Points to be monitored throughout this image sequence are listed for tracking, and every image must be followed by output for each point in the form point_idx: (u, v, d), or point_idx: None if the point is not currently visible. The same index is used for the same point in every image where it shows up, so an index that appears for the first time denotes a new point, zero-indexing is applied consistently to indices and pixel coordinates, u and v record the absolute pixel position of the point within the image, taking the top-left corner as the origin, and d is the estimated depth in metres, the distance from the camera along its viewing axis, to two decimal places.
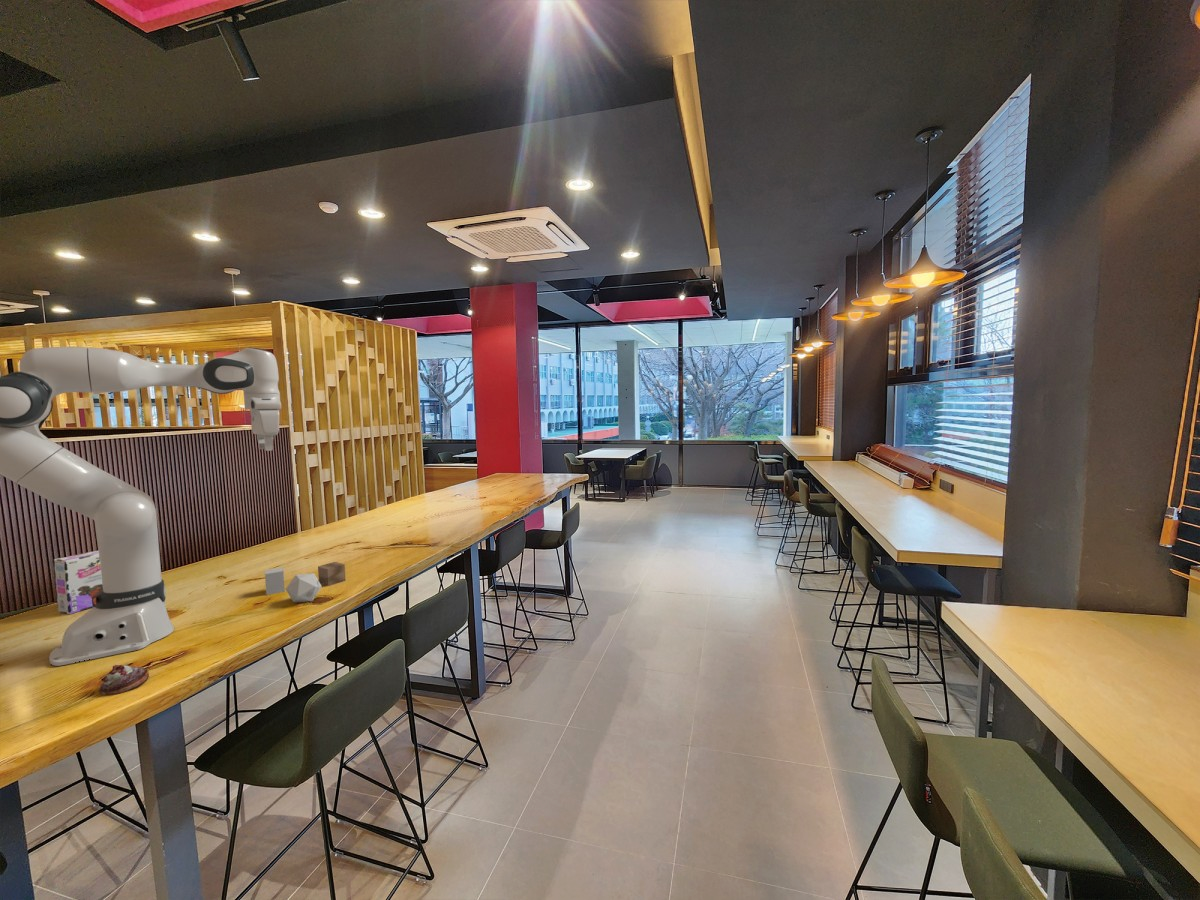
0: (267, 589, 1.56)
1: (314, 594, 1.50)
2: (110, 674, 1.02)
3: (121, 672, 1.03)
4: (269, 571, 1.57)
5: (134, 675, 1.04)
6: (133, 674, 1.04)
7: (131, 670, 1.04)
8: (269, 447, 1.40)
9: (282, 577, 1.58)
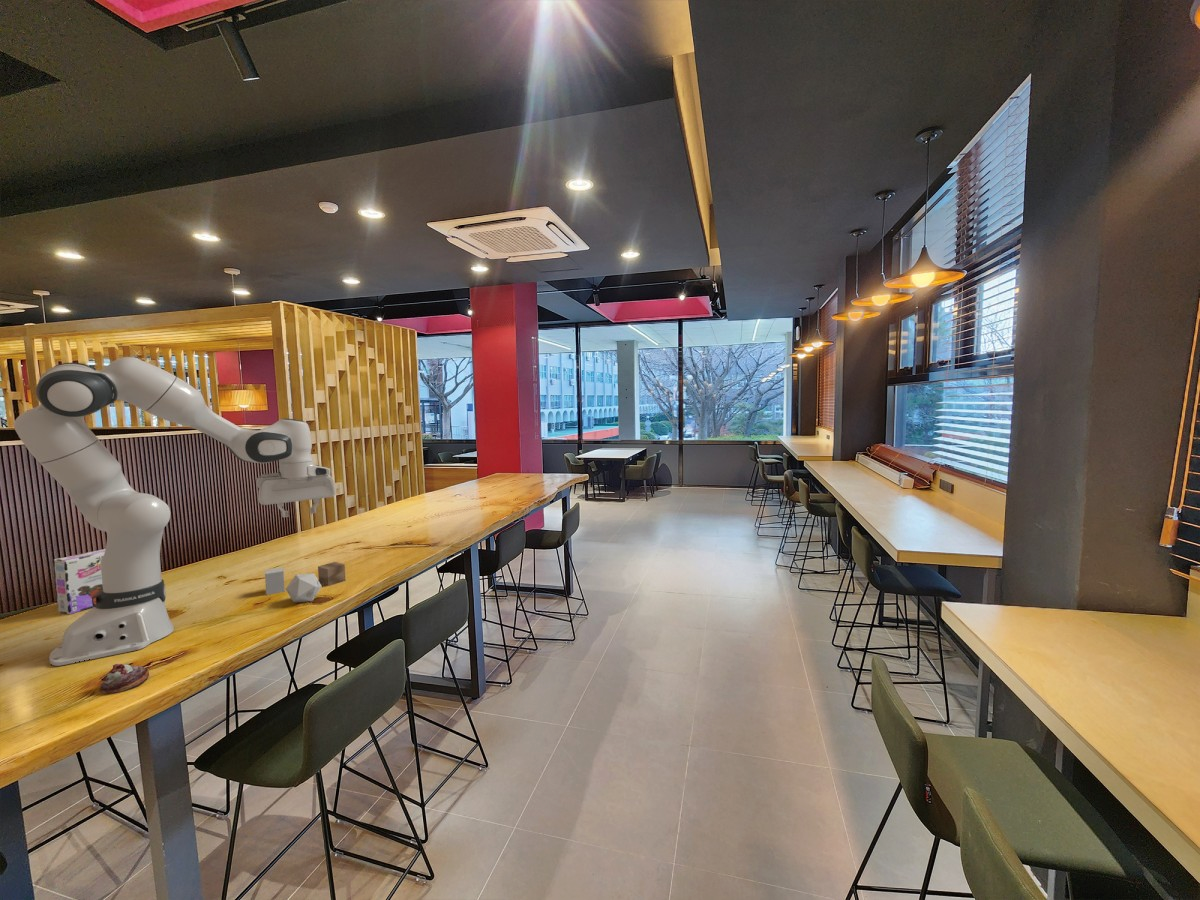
0: (267, 589, 1.56)
1: (314, 594, 1.50)
2: (110, 673, 1.02)
3: (121, 671, 1.03)
4: (269, 571, 1.57)
5: (135, 674, 1.04)
6: (133, 673, 1.04)
7: (131, 669, 1.05)
8: None
9: (282, 577, 1.58)
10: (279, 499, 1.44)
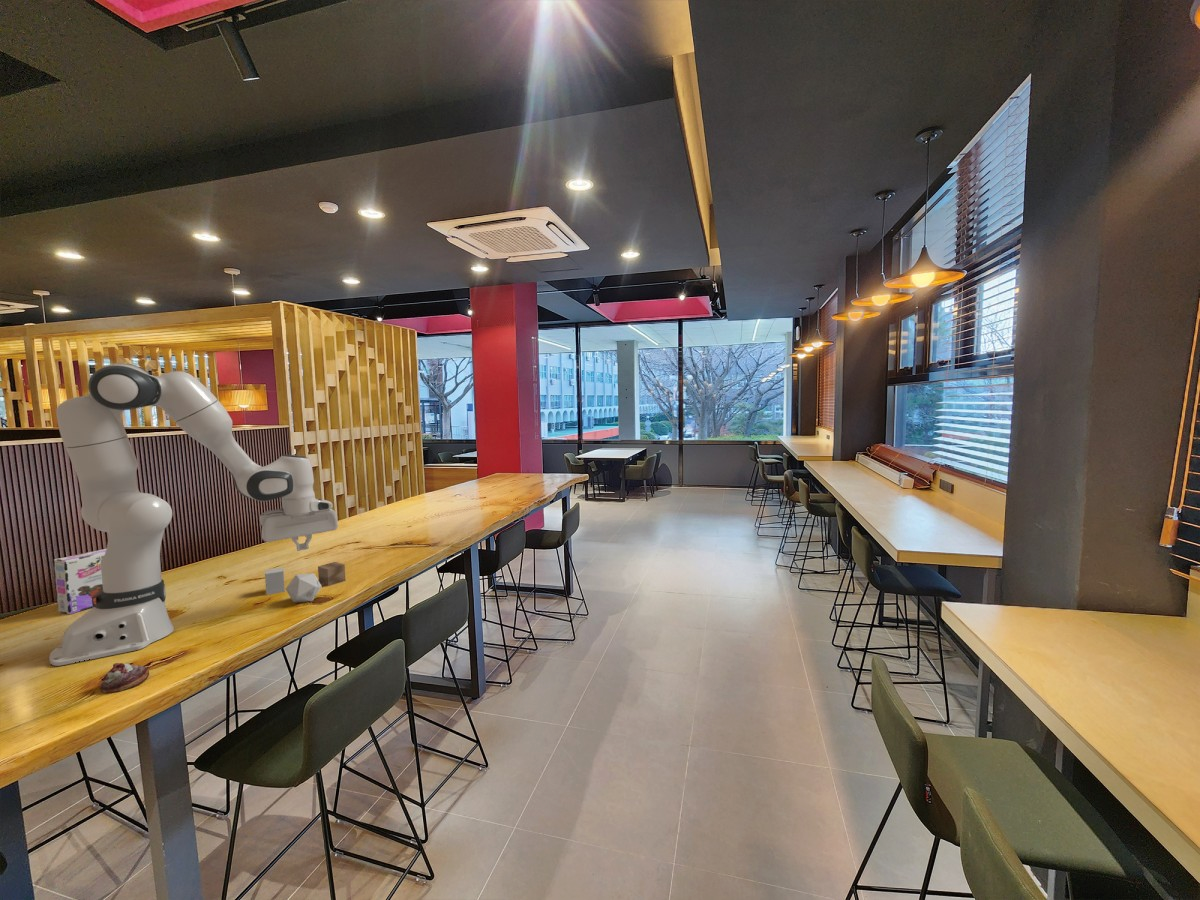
0: (267, 589, 1.56)
1: (314, 594, 1.50)
2: (110, 672, 1.03)
3: (121, 670, 1.03)
4: (269, 571, 1.57)
5: (135, 673, 1.04)
6: (133, 672, 1.04)
7: (131, 668, 1.05)
8: None
9: (282, 577, 1.58)
10: (282, 535, 1.45)
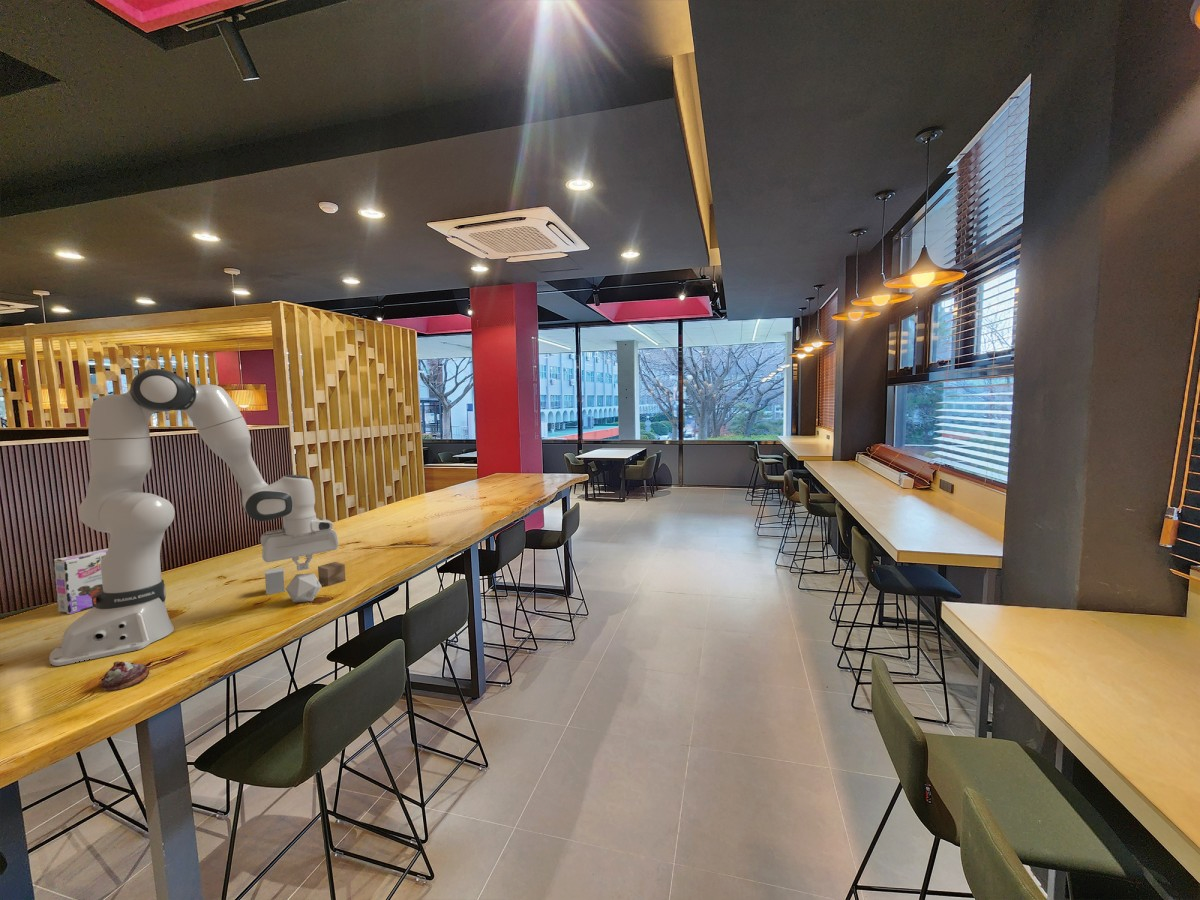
0: (267, 589, 1.56)
1: (314, 594, 1.50)
2: (111, 670, 1.03)
3: (121, 668, 1.04)
4: (269, 571, 1.57)
5: (135, 672, 1.05)
6: (134, 671, 1.05)
7: (132, 667, 1.06)
8: None
9: (282, 577, 1.58)
10: (283, 555, 1.45)
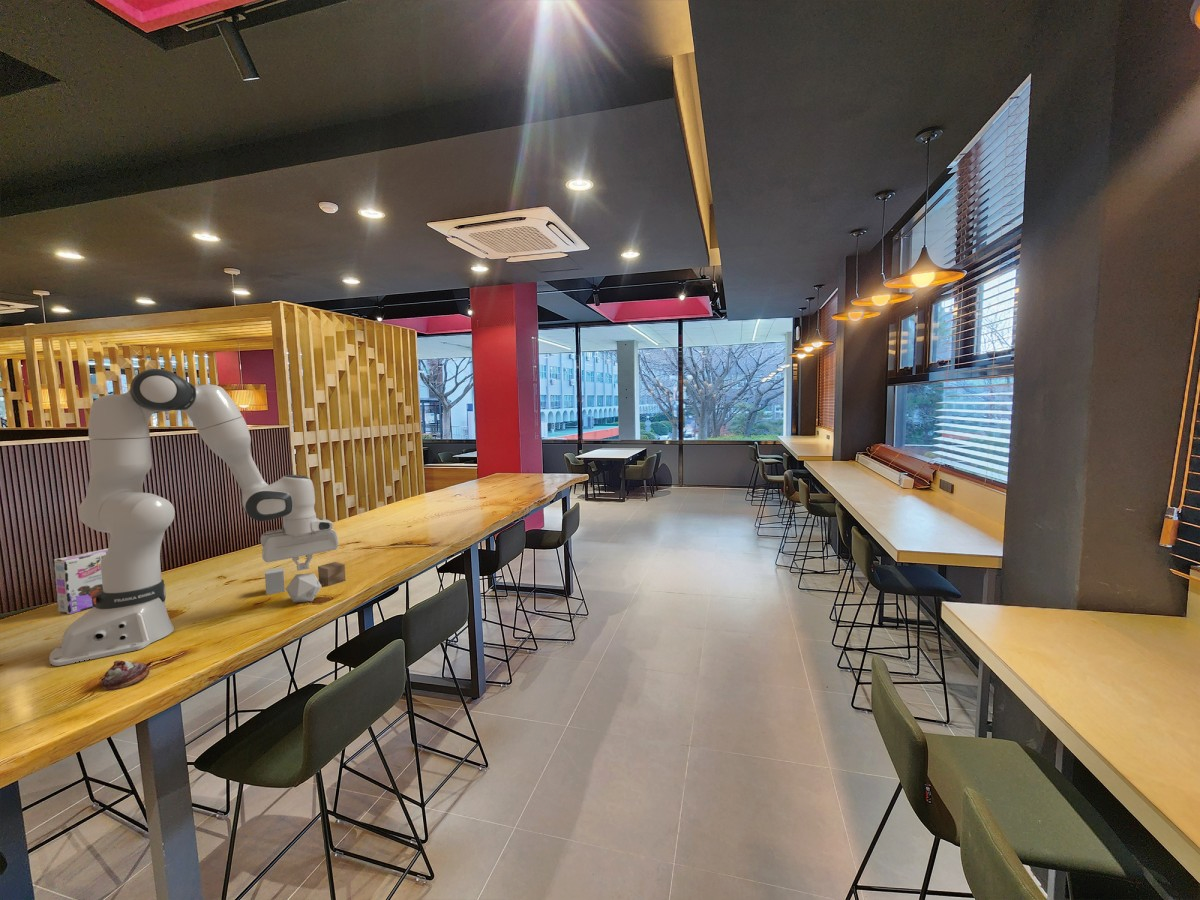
0: (267, 589, 1.56)
1: (314, 594, 1.50)
2: (111, 669, 1.04)
3: (122, 668, 1.04)
4: (269, 571, 1.57)
5: (135, 671, 1.05)
6: (134, 670, 1.05)
7: (132, 666, 1.06)
8: None
9: (282, 577, 1.58)
10: (283, 555, 1.45)
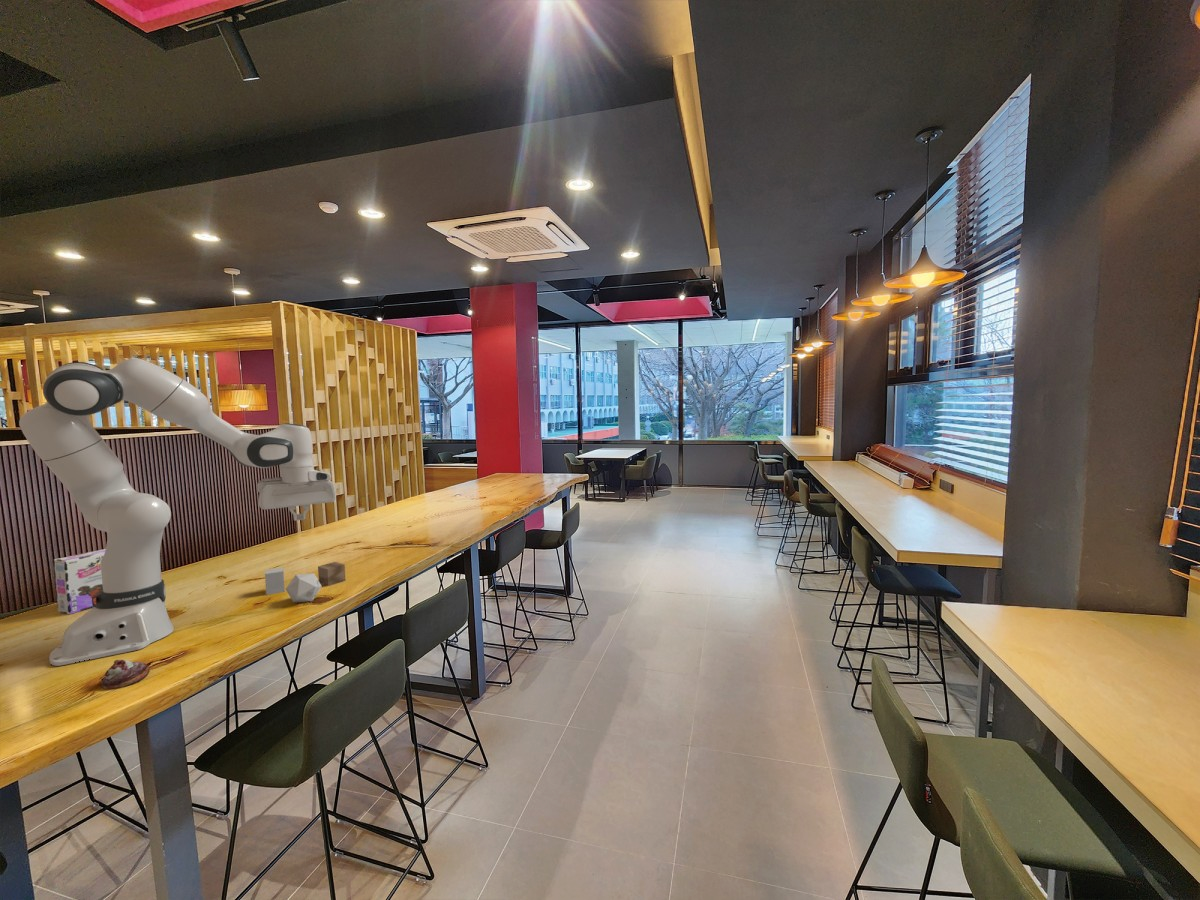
0: (267, 589, 1.56)
1: (314, 594, 1.50)
2: (111, 669, 1.04)
3: (122, 667, 1.05)
4: (269, 571, 1.57)
5: (135, 670, 1.06)
6: (134, 669, 1.06)
7: (132, 665, 1.06)
8: None
9: (282, 577, 1.58)
10: (280, 504, 1.44)
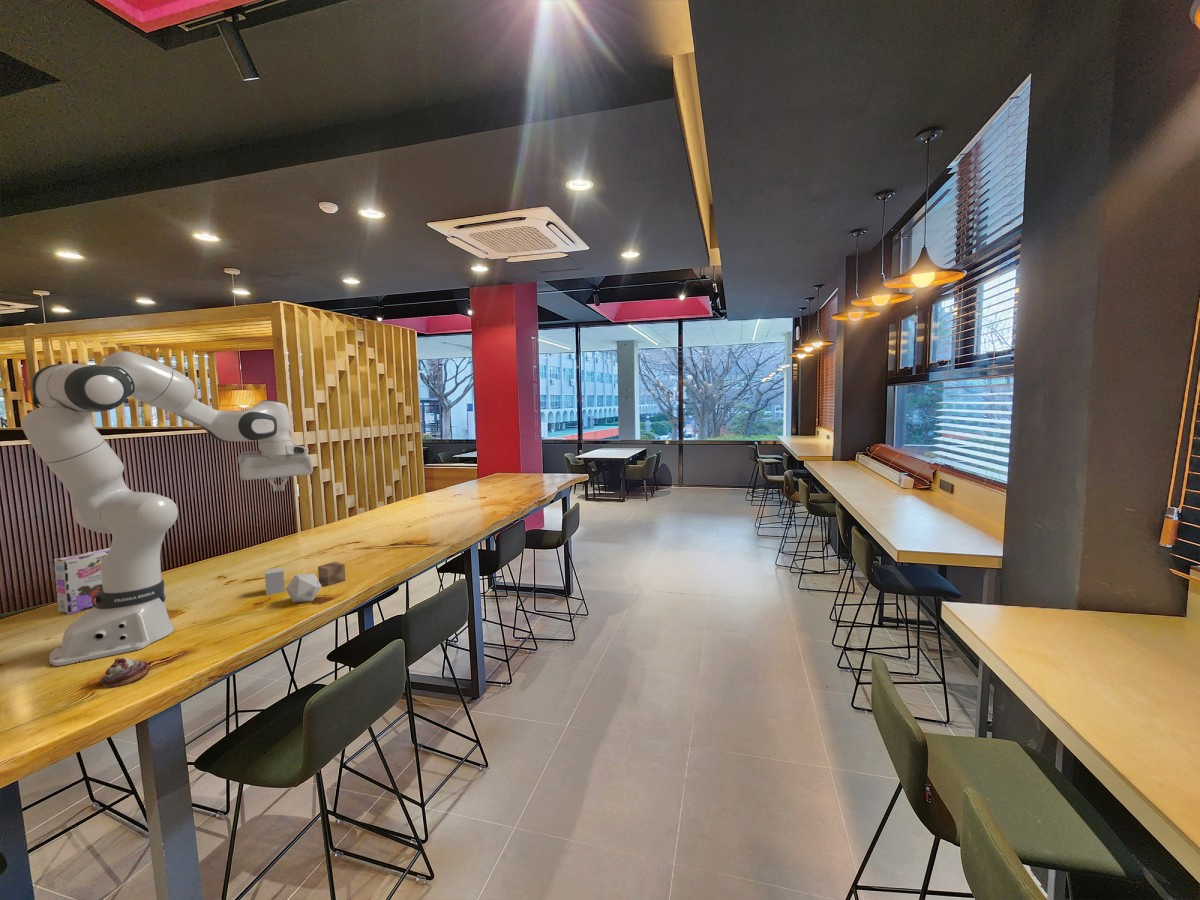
0: (267, 589, 1.56)
1: (314, 594, 1.50)
2: (112, 667, 1.05)
3: (122, 665, 1.05)
4: (269, 571, 1.57)
5: (135, 668, 1.06)
6: (134, 667, 1.06)
7: (132, 663, 1.07)
8: (283, 487, 1.61)
9: (282, 577, 1.58)
10: (259, 475, 1.55)
